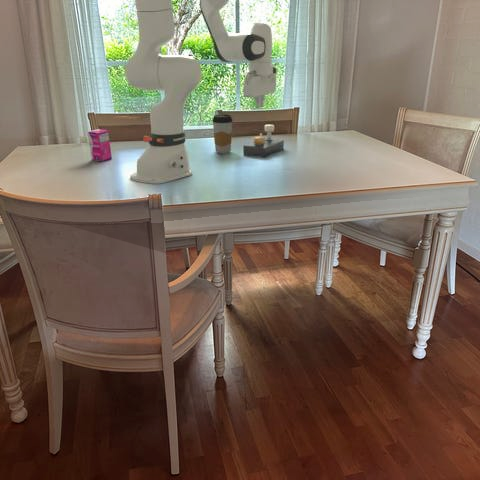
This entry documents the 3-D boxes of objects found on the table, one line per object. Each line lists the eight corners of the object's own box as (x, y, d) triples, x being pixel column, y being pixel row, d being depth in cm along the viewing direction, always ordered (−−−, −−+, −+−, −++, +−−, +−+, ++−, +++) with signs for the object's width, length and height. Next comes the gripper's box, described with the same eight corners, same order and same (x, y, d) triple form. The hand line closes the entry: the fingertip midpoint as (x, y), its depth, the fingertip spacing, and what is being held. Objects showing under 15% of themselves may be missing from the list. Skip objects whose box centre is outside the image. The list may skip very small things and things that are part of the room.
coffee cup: (234, 149, 193) (233, 114, 187) (231, 154, 185) (231, 117, 179) (214, 149, 194) (213, 114, 188) (211, 154, 186) (210, 117, 180)
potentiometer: (262, 143, 187) (262, 134, 185) (257, 142, 188) (257, 134, 186) (264, 141, 189) (264, 133, 187) (259, 141, 190) (259, 133, 188)
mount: (264, 157, 180) (265, 147, 178) (243, 154, 185) (243, 145, 183) (283, 149, 193) (283, 140, 192) (263, 146, 198) (263, 137, 196)
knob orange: (260, 155, 183) (260, 138, 180) (252, 154, 185) (252, 137, 182) (265, 153, 186) (265, 137, 183) (256, 152, 188) (257, 136, 185)
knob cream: (271, 142, 189) (271, 126, 186) (262, 141, 190) (262, 125, 188) (275, 140, 192) (275, 125, 189) (267, 139, 194) (267, 124, 191)
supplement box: (91, 160, 178) (86, 131, 173) (101, 157, 182) (97, 128, 178) (102, 162, 175) (98, 132, 170) (112, 158, 180) (108, 130, 175)
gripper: (254, 71, 163) (253, 111, 168) (279, 68, 179) (278, 104, 184) (239, 71, 166) (239, 109, 171) (265, 68, 182) (264, 103, 187)
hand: (259, 107), depth 178 cm, fingers closed
